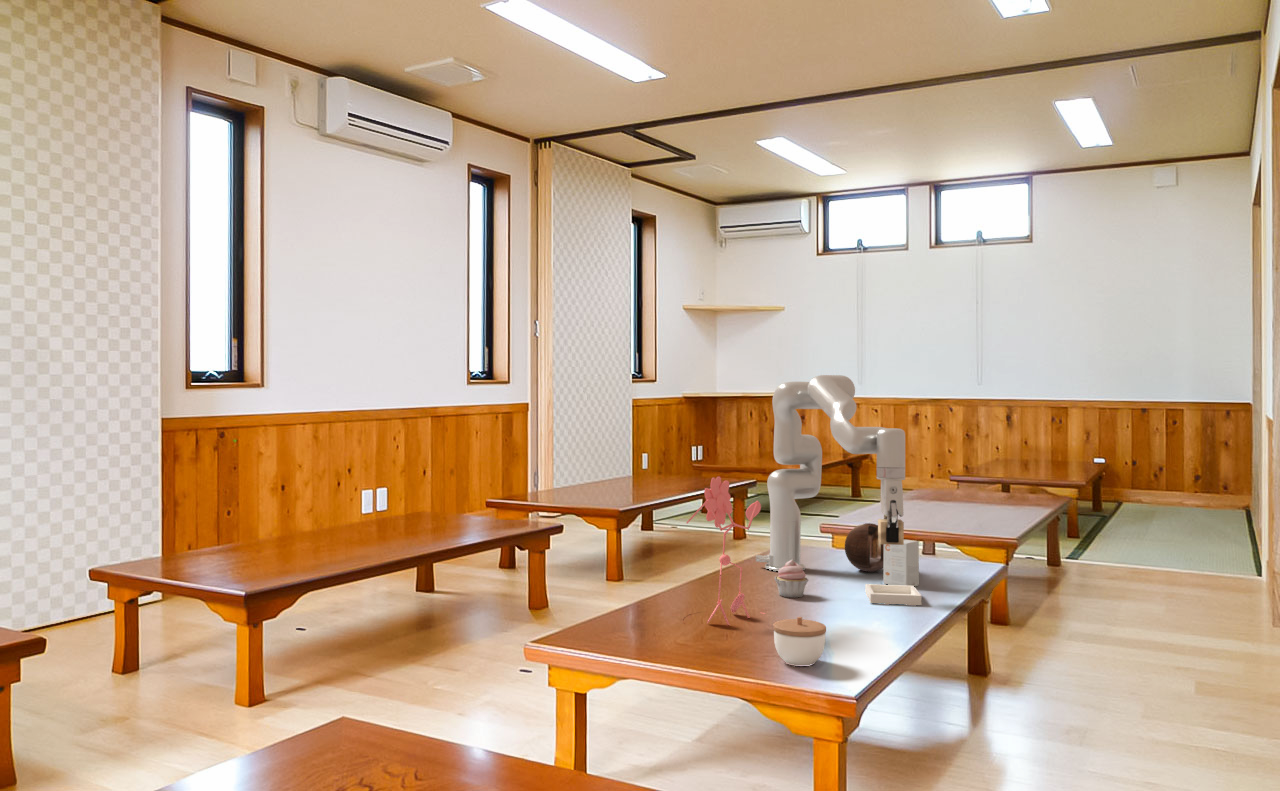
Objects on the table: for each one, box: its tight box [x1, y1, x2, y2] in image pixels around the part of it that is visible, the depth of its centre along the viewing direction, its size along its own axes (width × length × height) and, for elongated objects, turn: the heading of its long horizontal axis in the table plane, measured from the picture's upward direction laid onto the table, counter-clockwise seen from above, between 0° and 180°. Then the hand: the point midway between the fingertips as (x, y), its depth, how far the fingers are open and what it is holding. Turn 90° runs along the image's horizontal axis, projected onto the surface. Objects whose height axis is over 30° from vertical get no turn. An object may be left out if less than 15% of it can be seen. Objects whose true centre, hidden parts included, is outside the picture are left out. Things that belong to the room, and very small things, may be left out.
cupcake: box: [774, 560, 809, 599], centre depth 253 cm, size 9×9×10 cm
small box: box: [882, 539, 920, 587], centre depth 268 cm, size 8×6×13 cm
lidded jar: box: [772, 616, 827, 665], centre depth 190 cm, size 11×11×9 cm
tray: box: [864, 583, 922, 606], centre depth 249 cm, size 13×13×3 cm
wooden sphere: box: [844, 522, 884, 573], centre depth 289 cm, size 15×15×15 cm
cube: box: [877, 518, 905, 545], centre depth 250 cm, size 6×6×6 cm
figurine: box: [686, 476, 766, 626], centre depth 227 cm, size 15×26×35 cm, turn 141°
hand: (890, 539), depth 250 cm, fingers closed on cube, 6 cm apart
